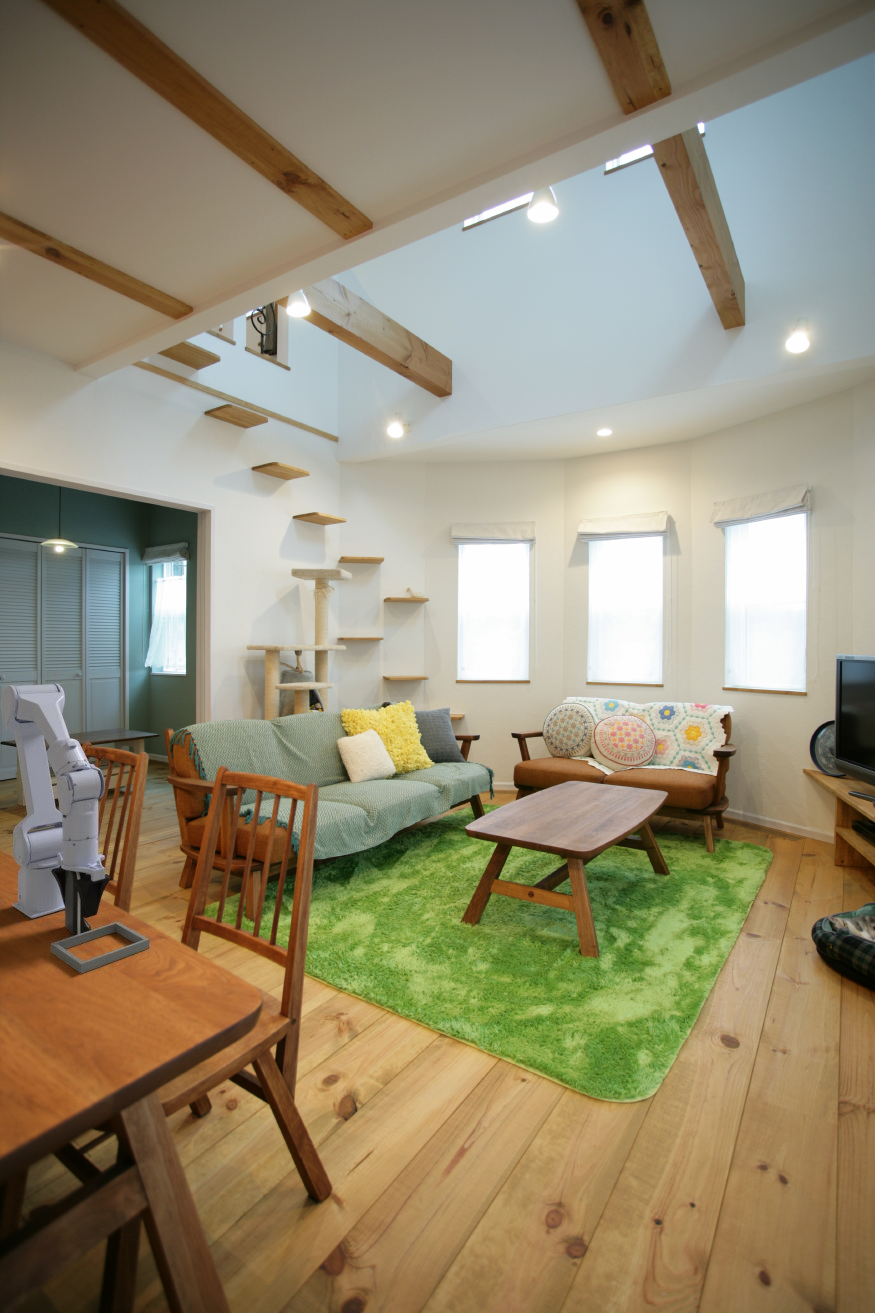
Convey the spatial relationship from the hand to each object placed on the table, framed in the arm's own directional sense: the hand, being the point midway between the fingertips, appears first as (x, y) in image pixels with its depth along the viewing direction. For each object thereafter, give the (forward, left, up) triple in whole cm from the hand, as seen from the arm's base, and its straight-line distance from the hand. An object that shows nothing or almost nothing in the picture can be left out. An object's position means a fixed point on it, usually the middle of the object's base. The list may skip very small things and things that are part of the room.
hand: (80, 910), depth 119 cm
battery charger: (0, 0, -4) cm, 4 cm away
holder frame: (+11, -1, -3) cm, 12 cm away
